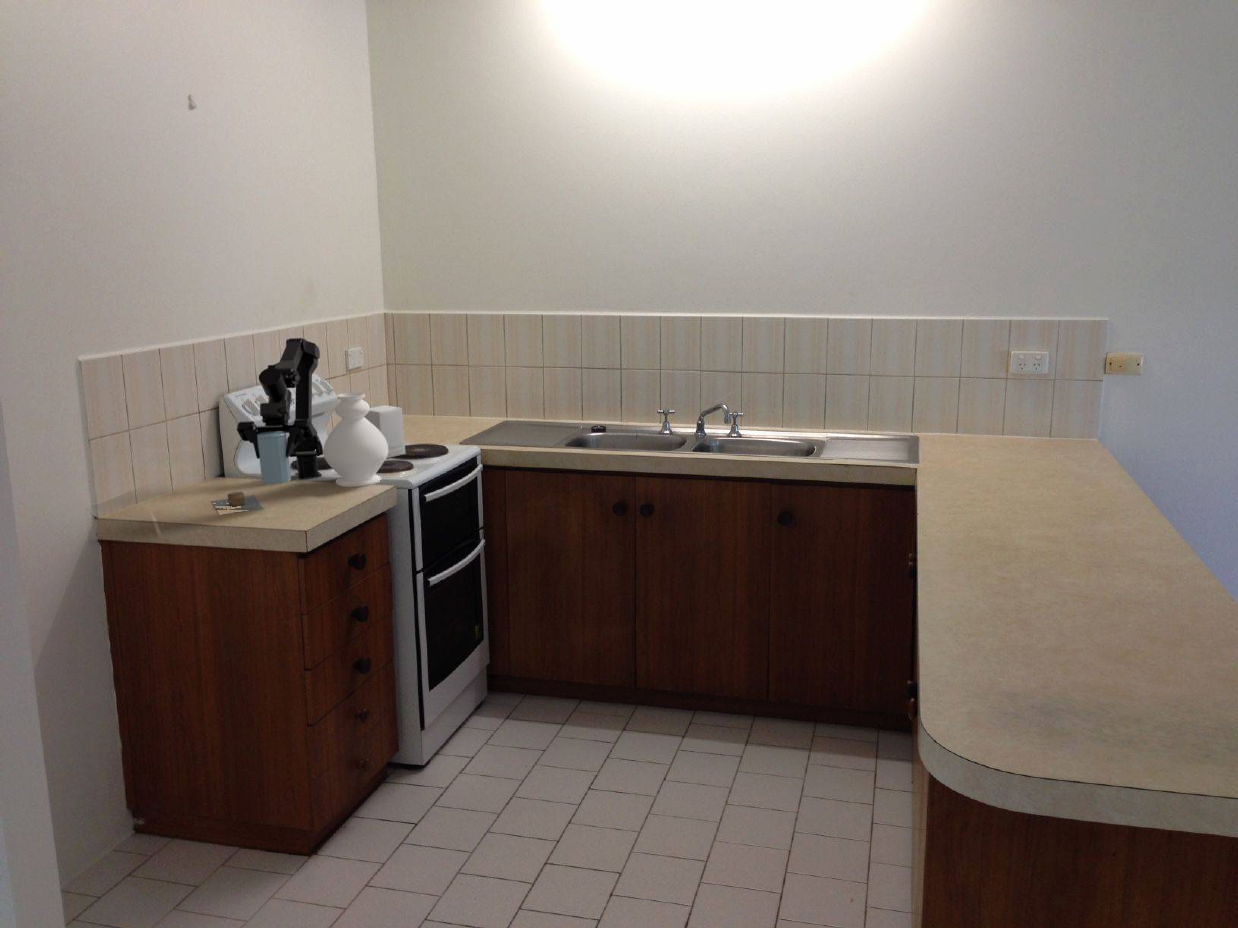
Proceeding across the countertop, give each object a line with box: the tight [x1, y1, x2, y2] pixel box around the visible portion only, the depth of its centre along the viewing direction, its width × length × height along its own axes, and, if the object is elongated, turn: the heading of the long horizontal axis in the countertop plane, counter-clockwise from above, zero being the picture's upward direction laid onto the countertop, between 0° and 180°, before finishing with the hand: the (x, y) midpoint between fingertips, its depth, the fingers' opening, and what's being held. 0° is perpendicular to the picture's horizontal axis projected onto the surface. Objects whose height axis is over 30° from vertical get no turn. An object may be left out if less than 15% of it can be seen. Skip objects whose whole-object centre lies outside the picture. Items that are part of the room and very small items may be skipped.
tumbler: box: [257, 431, 292, 485], centre depth 282 cm, size 7×7×12 cm
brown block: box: [227, 491, 245, 507], centre depth 285 cm, size 4×4×3 cm
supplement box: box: [364, 404, 406, 459], centre depth 339 cm, size 9×9×15 cm
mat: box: [210, 495, 264, 514], centre depth 286 cm, size 16×11×1 cm
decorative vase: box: [323, 391, 388, 488], centre depth 306 cm, size 18×18×25 cm
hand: (272, 457), depth 281 cm, fingers closed on tumbler, 7 cm apart
